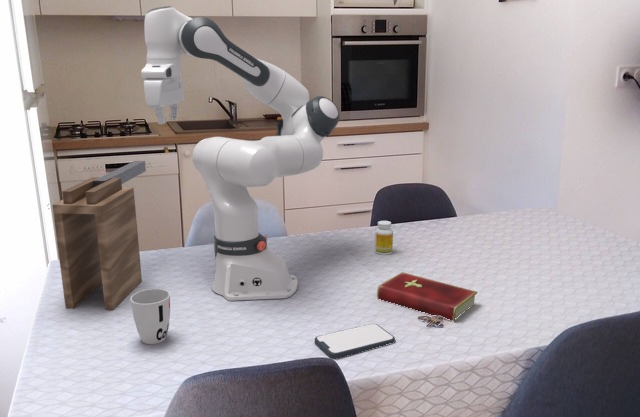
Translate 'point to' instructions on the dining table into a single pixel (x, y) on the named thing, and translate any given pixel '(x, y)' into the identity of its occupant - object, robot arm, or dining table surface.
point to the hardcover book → (426, 295)
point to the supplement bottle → (383, 238)
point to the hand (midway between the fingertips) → (167, 121)
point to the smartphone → (353, 340)
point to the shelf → (97, 241)
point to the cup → (151, 314)
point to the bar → (123, 173)
